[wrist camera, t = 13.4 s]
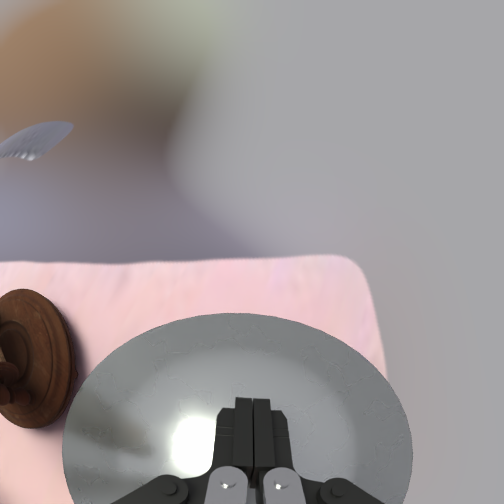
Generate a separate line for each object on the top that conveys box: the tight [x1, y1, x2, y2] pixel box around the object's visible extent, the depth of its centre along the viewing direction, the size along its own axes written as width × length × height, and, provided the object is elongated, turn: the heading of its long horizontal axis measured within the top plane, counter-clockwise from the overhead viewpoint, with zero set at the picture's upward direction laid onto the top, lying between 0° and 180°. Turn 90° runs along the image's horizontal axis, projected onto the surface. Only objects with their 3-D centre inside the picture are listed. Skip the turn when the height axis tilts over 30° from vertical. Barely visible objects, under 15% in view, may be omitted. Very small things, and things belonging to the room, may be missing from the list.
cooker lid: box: [62, 313, 413, 504], centre depth 9 cm, size 19×19×3 cm
